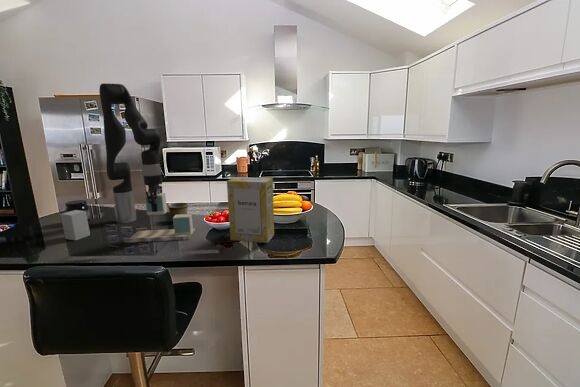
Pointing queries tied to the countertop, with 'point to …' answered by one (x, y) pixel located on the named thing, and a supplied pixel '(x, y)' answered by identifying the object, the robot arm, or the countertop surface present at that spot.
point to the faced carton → (183, 224)
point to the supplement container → (78, 207)
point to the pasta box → (251, 209)
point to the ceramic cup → (178, 209)
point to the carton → (160, 205)
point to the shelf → (156, 236)
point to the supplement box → (75, 225)
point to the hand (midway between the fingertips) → (156, 209)
